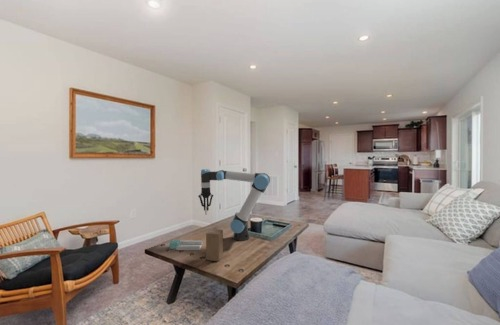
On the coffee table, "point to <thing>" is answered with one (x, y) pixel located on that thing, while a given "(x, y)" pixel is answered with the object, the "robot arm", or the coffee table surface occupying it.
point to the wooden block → (214, 244)
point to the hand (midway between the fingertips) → (206, 214)
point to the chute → (190, 245)
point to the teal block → (174, 244)
